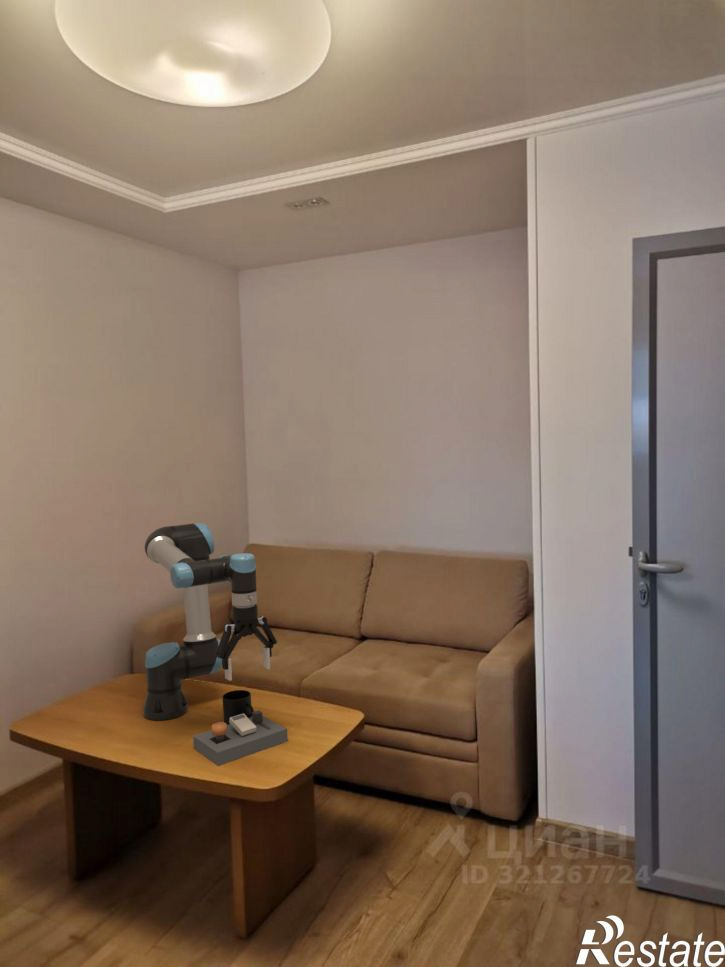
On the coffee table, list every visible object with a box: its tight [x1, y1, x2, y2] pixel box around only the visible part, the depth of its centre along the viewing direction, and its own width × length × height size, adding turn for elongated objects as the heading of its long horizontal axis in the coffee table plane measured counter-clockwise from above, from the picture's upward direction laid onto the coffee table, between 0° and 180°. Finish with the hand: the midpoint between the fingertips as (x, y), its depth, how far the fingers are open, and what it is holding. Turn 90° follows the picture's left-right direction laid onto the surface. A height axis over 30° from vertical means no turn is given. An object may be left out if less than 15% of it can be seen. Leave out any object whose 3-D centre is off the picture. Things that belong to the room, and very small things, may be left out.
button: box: [211, 721, 227, 744], centre depth 222 cm, size 4×4×6 cm
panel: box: [192, 715, 288, 767], centre depth 227 cm, size 16×24×5 cm, turn 129°
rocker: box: [229, 713, 257, 736], centre depth 227 cm, size 8×5×2 cm, turn 39°
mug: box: [221, 689, 254, 725], centre depth 245 cm, size 9×12×9 cm
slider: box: [252, 710, 264, 723], centre depth 234 cm, size 2×2×3 cm
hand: (248, 673), depth 223 cm, fingers open, 13 cm apart
